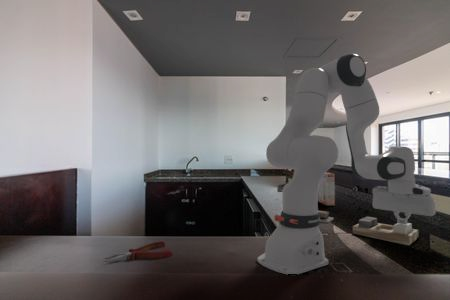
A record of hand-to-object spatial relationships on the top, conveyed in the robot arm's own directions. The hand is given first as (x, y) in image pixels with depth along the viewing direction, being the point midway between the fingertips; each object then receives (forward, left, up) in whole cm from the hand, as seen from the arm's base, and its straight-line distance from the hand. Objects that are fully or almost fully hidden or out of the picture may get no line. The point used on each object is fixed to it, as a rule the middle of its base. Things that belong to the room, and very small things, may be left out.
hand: (402, 223), depth 100 cm
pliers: (-82, +54, -7) cm, 98 cm away
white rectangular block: (0, 0, -4) cm, 4 cm away
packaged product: (+4, +40, -7) cm, 41 cm away
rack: (0, +6, -6) cm, 8 cm away
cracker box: (+47, +56, -6) cm, 73 cm away
